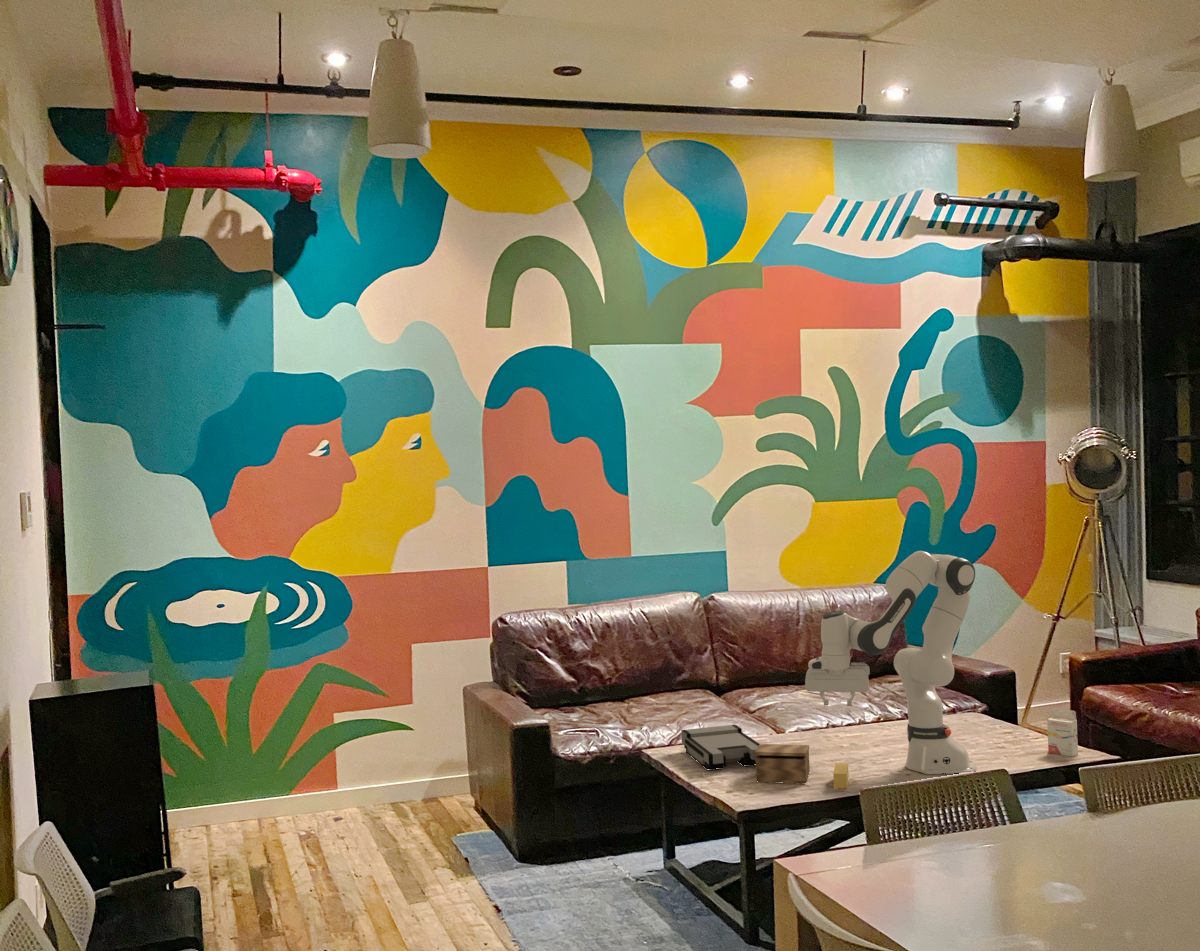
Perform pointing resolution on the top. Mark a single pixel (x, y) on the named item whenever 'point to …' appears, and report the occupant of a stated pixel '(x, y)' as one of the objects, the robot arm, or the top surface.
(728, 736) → the game console
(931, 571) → the robot arm
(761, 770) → the wooden box
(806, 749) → the box lid
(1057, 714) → the ink cartridge box
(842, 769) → the yellow block
